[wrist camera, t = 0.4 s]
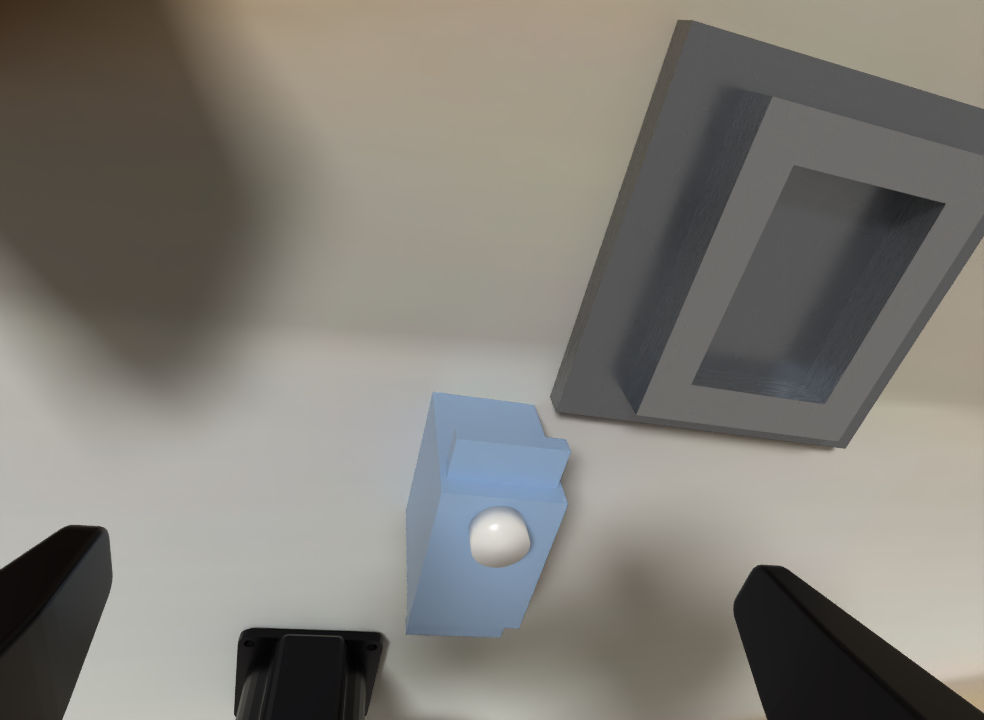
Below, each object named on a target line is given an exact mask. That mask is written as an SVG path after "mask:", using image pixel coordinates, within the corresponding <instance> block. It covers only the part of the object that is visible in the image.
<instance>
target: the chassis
mask: <svg viewBox="0 0 984 720" xmlns="http://www.w3.org/2000/svg"><path fill="white" fill-rule="evenodd" d="M983 236H984V109H981V108H978V107H975V106H972V105H968V104H965V103H962V102H959V101H955V100H952V99H949V98H945V97H942V96H939V95H936V94H932V93H929V92H926V91H922V90H919V89H916V88H913V87H909V86H906V85H903V84H900V83H896V82H893V81H890V80H886V79H883V78H880V77H877V76H873V75H870V74H867V73H863V72H860V71H857V70H854V69H850V68H847V67H844V66H840V65H837V64H834V63H831V62H827V61H824V60H821V59H818V58H814V57H811V56H808V55H804V54H801V53H798V52H795V51H791V50H788V49H785V48H781V47H778V46H775V45H772V44H768V43H765V42H762V41H759V40H755V39H752V38H749V37H745V36H742V35H739V34H736V33H732V32H729V31H726V30H722V29H719V28H716V27H713V26H709V25H706V24H703V23H699V22H696V21H693V20H678V22H677V25H676V28H675V30H674V33H673V36H672V39H671V42H670V45H669V48H668V51H667V54H666V57H665V60H664V63H663V66H662V69H661V72H660V75H659V78H658V81H657V84H656V87H655V89H654V92H653V95H652V98H651V101H650V104H649V107H648V110H647V113H646V116H645V119H644V122H643V125H642V128H641V131H640V134H639V137H638V140H637V143H636V145H635V148H634V151H633V154H632V157H631V160H630V163H629V166H628V169H627V172H626V175H625V178H624V181H623V184H622V187H621V190H620V193H619V196H618V199H617V201H616V204H615V207H614V210H613V213H612V216H611V219H610V222H609V225H608V228H607V231H606V234H605V237H604V240H603V243H602V246H601V249H600V252H599V255H598V257H597V260H596V263H595V266H594V269H593V272H592V275H591V278H590V281H589V284H588V287H587V290H586V293H585V296H584V299H583V302H582V305H581V308H580V311H579V313H578V316H577V319H576V322H575V325H574V328H573V331H572V334H571V337H570V340H569V343H568V346H567V349H566V352H565V355H564V358H563V361H562V364H561V367H560V370H559V372H558V375H557V378H556V381H555V384H554V387H553V390H552V393H551V396H550V397H551V400H552V403H553V405H554V408H555V410H556V412H562V413H570V414H578V415H586V416H594V417H601V418H609V419H617V420H625V421H633V422H641V423H648V424H656V425H664V426H672V427H680V428H688V429H695V430H703V431H711V432H719V433H727V434H735V435H742V436H750V437H758V438H766V439H774V440H782V441H789V442H797V443H805V444H813V445H821V446H829V447H836V448H844V449H845V448H846V447H847V445H848V444H849V442H850V441H851V439H852V437H853V436H854V434H855V433H856V431H857V430H858V428H859V427H860V425H861V424H862V422H863V421H864V419H865V418H866V416H867V414H868V413H869V411H870V410H871V408H872V407H873V405H874V404H875V402H876V401H877V399H878V398H879V396H880V394H881V393H882V391H883V390H884V388H885V387H886V385H887V384H888V382H889V381H890V379H891V378H892V376H893V375H894V373H895V371H896V370H897V368H898V367H899V365H900V364H901V362H902V361H903V359H904V358H905V356H906V355H907V353H908V352H909V350H910V348H911V347H912V345H913V344H914V342H915V341H916V339H917V338H918V336H919V335H920V333H921V332H922V330H923V328H924V327H925V325H926V324H927V322H928V321H929V319H930V318H931V316H932V315H933V313H934V312H935V310H936V309H937V307H938V305H939V304H940V302H941V301H942V299H943V298H944V296H945V295H946V293H947V292H948V290H949V289H950V287H951V286H952V284H953V282H954V281H955V279H956V278H957V276H958V275H959V273H960V272H961V270H962V269H963V267H964V266H965V264H966V262H967V261H968V259H969V258H970V256H971V255H972V253H973V252H974V250H975V249H976V247H977V246H978V244H979V243H980V241H981V239H982V238H983Z"/></svg>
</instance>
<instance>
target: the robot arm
mask: <svg viewBox="0 0 984 720" xmlns="http://www.w3.org/2000/svg"><path fill="white" fill-rule="evenodd" d="M112 577H113V575H112V562H111V551H110V540H109V534H108V531H107V530H106V529H105V528H104V527H101V526H86V525H68V526H66V527H63V528H62V529H60V530H58V531H57V532H55V533H54V534H52V535H51V536H49V537H48V538H46V539H45V540H43V541H42V542H40V543H39V544H37V545H36V546H34V547H33V548H31V549H30V550H29V551H27V552H26V553H24V554H23V555H21V556H20V557H18V558H17V559H15V560H14V561H12V562H11V563H9V564H8V565H6V566H5V567H3V568H2V569H0V720H62V719H63V716H64V714H65V711H66V709H67V706H68V704H69V701H70V698H71V696H72V693H73V690H74V688H75V685H76V682H77V680H78V677H79V674H80V671H81V669H82V666H83V663H84V661H85V658H86V655H87V653H88V650H89V647H90V644H91V642H92V639H93V636H94V634H95V631H96V628H97V626H98V623H99V620H100V618H101V615H102V612H103V609H104V607H105V604H106V601H107V599H108V596H109V593H110V589H111V585H112ZM733 611H734V617H735V621H736V624H737V627H738V630H739V633H740V637H741V640H742V643H743V646H744V649H745V652H746V656H747V659H748V662H749V665H750V668H751V671H752V674H753V678H754V681H755V684H756V687H757V690H758V693H759V697H760V700H761V703H762V706H763V709H764V711H765V714H766V717H767V720H984V713H983V712H981V711H980V710H979V709H977V708H976V707H975V706H973V705H972V704H970V703H969V702H968V701H966V700H965V699H964V698H962V697H961V696H960V695H958V694H957V693H955V692H954V691H953V690H951V689H950V688H949V687H947V686H946V685H945V684H943V683H942V682H940V681H939V680H938V679H936V678H935V677H934V676H932V675H931V674H930V673H928V672H927V671H925V670H924V669H923V668H921V667H920V666H919V665H917V664H916V663H915V662H913V661H912V660H911V659H909V658H908V657H906V656H905V655H904V654H902V653H901V652H900V651H898V650H897V649H896V648H894V647H893V646H891V645H890V644H889V643H887V642H886V641H885V640H883V639H882V638H881V637H879V636H878V635H876V634H875V633H874V632H872V631H871V630H870V629H868V628H867V627H866V626H864V625H863V624H861V623H860V622H859V621H857V620H856V619H855V618H853V617H852V616H851V615H849V614H848V613H847V612H845V611H844V610H842V609H841V608H840V607H838V606H837V605H836V604H834V603H833V602H832V601H830V600H829V599H827V598H826V597H825V596H823V595H822V594H821V593H819V592H818V591H817V590H815V589H814V588H812V587H811V586H810V585H808V584H807V583H806V582H804V581H803V580H802V579H800V578H799V577H797V576H796V575H795V574H793V573H792V572H791V571H789V570H788V569H786V568H784V567H781V566H774V565H758V566H756V567H755V568H753V570H752V571H751V573H750V574H749V576H748V578H747V579H746V581H745V583H744V585H743V586H742V588H741V590H740V592H739V593H738V595H737V597H736V599H735V601H734V607H733ZM382 648H383V637H382V636H381V635H379V634H376V633H357V632H328V631H299V630H270V629H247V630H244V631H243V632H241V634H240V637H239V641H238V651H237V669H236V687H235V705H234V715H235V717H236V720H364V718H365V716H366V715H367V711H368V707H369V703H370V699H371V694H372V690H373V686H374V682H375V677H376V673H377V669H378V665H379V661H380V656H381V652H382Z"/></svg>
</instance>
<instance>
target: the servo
mask: <svg viewBox="0 0 984 720" xmlns="http://www.w3.org/2000/svg"><path fill="white" fill-rule="evenodd" d="M570 452H571V451H570V448H569V445H568V443H567V440H566V439H558V438H549V437H545V435H544V432H543V429H542V426H541V423H540V420H539V417H538V414H537V412H536V409H535V406H534V405H530V404H522V403H515V402H507V401H499V400H491V399H484V398H476V397H468V396H460V395H453V394H445V393H437V392H433V394H432V398H431V403H430V407H429V411H428V416H427V420H426V425H425V429H424V433H423V438H422V442H421V447H420V451H419V455H418V460H417V464H416V469H415V473H414V478H413V482H412V486H411V491H410V495H409V500H408V504H407V508H406V542H407V617H406V634H408V635H439V636H470V637H501V635H502V632H503V630H504V628H517V629H519V627H520V624H521V622H522V619H523V617H524V614H525V612H526V609H527V607H528V604H529V602H530V599H531V597H532V594H533V592H534V589H535V587H536V584H537V582H538V579H539V576H540V574H541V571H542V569H543V566H544V564H545V561H546V559H547V556H548V554H549V551H550V549H551V546H552V544H553V541H554V539H555V536H556V534H557V531H558V528H559V526H560V523H561V521H562V518H563V516H564V513H565V511H566V508H567V506H568V502H567V499H566V496H565V494H564V491H563V488H562V485H561V482H560V479H561V476H562V474H563V471H564V468H565V466H566V463H567V460H568V458H569V455H570Z"/></svg>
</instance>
